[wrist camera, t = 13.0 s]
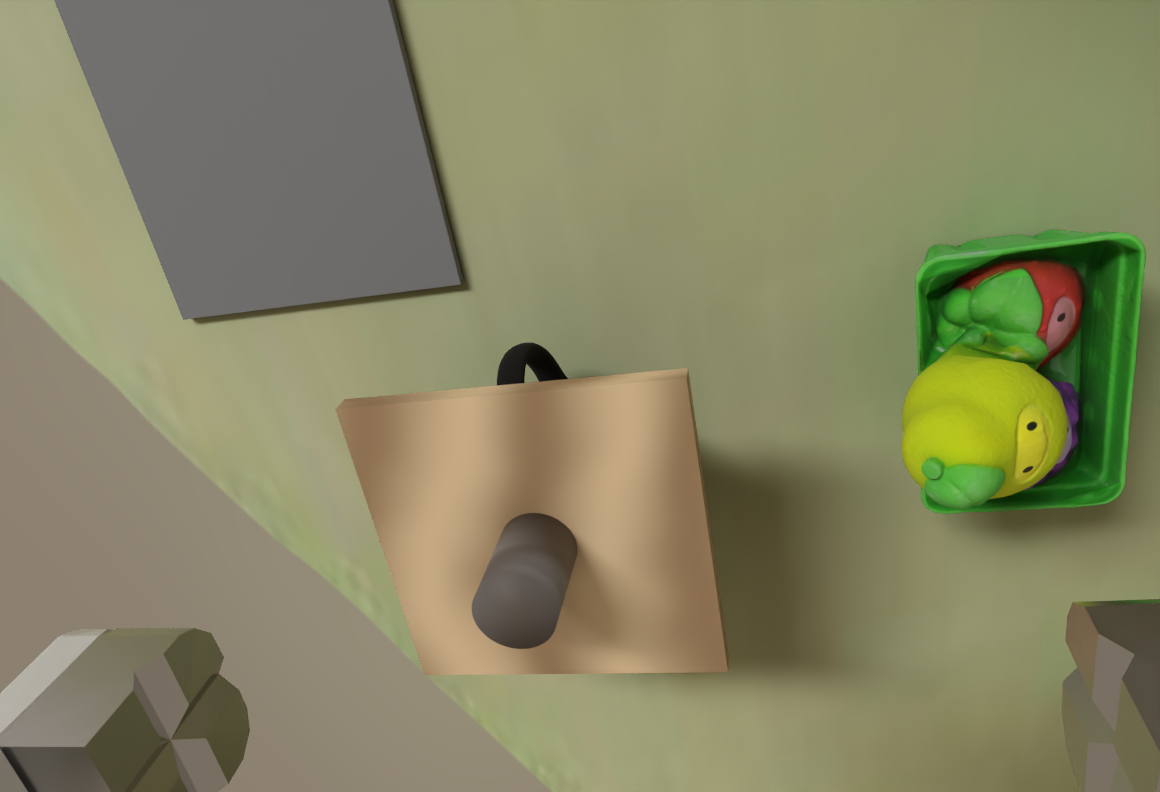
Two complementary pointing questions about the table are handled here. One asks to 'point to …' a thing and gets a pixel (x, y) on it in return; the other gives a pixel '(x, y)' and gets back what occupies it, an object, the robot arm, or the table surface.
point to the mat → (269, 147)
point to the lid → (545, 524)
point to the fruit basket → (1024, 371)
